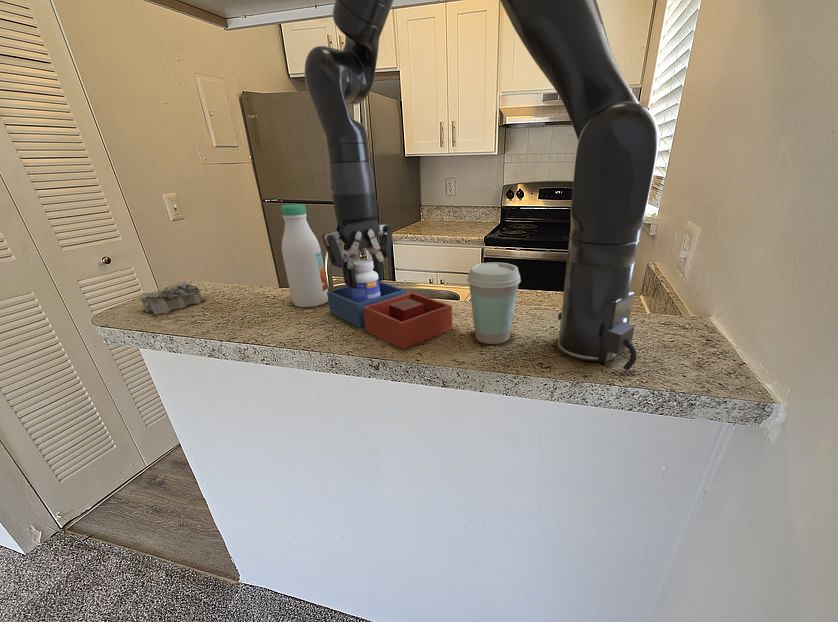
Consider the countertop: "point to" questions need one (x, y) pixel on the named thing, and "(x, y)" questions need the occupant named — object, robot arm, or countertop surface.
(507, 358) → the countertop surface
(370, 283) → the pill bottle
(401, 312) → the red block
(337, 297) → the blue bin
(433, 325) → the red bin
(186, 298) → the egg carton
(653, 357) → the countertop surface
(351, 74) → the robot arm
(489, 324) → the coffee cup
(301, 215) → the milk bottle
